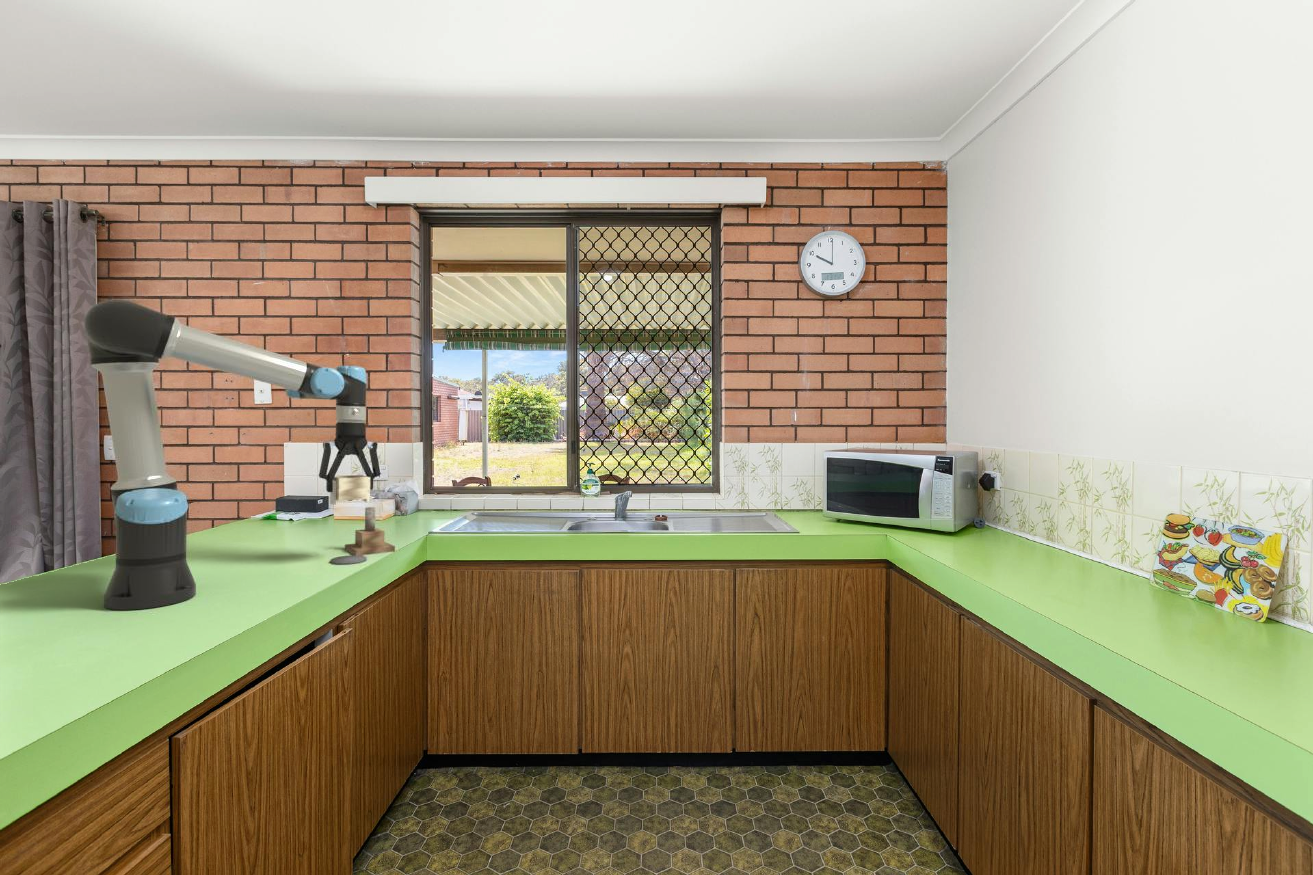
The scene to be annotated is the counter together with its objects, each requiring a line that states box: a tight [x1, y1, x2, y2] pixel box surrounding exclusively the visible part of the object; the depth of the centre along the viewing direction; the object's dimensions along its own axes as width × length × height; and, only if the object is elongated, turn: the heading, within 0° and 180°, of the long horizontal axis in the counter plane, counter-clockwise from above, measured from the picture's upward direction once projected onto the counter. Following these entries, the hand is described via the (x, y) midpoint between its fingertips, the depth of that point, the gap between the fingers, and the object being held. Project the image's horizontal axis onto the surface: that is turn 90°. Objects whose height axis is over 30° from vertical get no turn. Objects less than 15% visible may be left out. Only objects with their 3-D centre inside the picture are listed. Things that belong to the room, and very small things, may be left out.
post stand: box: [344, 506, 396, 556], centre depth 182 cm, size 11×11×13 cm
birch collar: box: [333, 474, 371, 502], centre depth 167 cm, size 8×8×6 cm
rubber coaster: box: [330, 554, 368, 566], centre depth 168 cm, size 9×9×1 cm
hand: (350, 502), depth 167 cm, fingers closed on birch collar, 8 cm apart
